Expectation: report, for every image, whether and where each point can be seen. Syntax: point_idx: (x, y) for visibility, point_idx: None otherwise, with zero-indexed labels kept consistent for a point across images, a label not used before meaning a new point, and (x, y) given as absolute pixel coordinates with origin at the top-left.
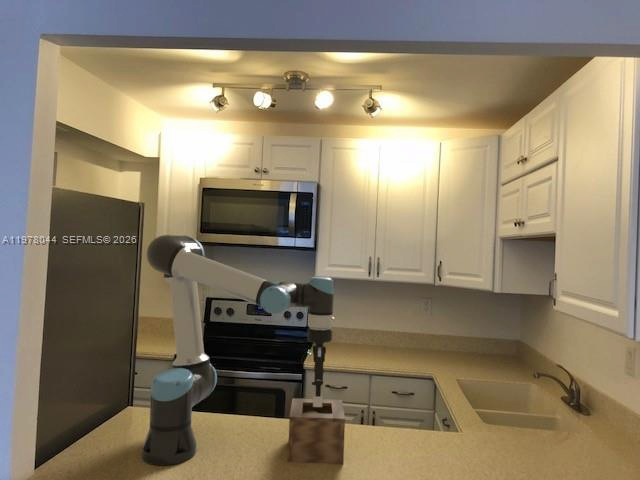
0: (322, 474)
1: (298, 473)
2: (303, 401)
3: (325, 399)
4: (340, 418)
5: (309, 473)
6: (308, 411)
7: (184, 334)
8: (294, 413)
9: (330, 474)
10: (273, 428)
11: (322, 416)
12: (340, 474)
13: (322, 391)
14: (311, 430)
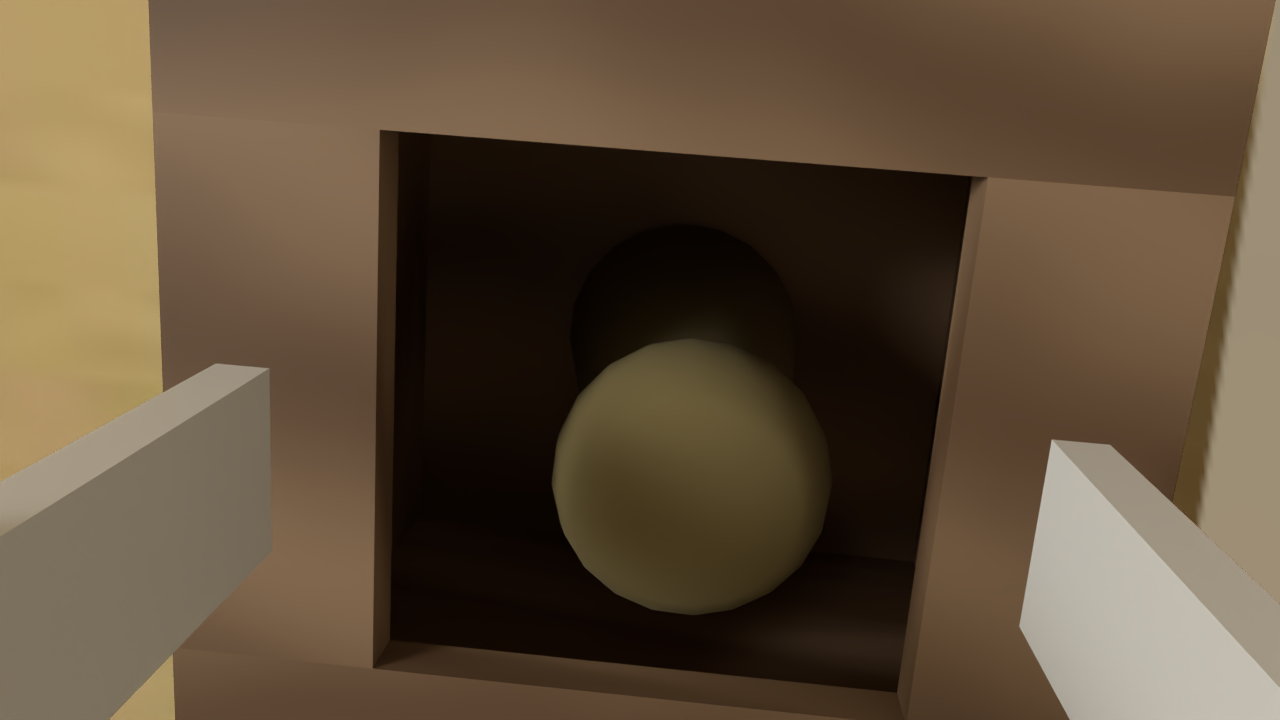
0: (1235, 265)
1: (1181, 501)
2: (327, 656)
3: (167, 232)
4: (1267, 36)
5: (1196, 395)
6: (605, 553)
7: None
8: None
9: (1247, 180)
10: (147, 701)
11: (1116, 388)
12: (1263, 69)
13: (1273, 609)
14: None
